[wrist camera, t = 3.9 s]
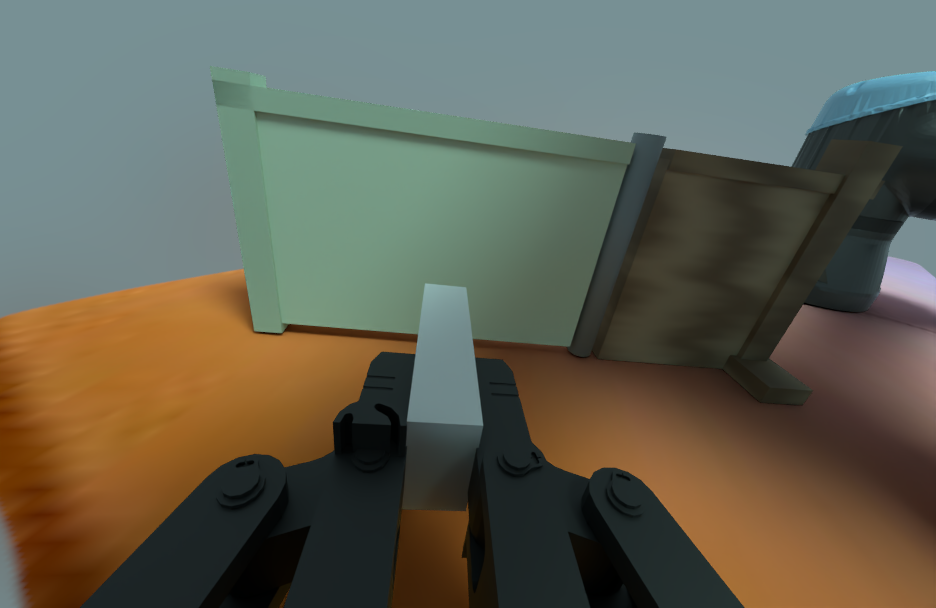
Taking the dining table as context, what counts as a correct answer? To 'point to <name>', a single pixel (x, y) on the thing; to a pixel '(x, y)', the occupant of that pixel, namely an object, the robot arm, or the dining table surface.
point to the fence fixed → (734, 259)
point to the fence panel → (425, 214)
